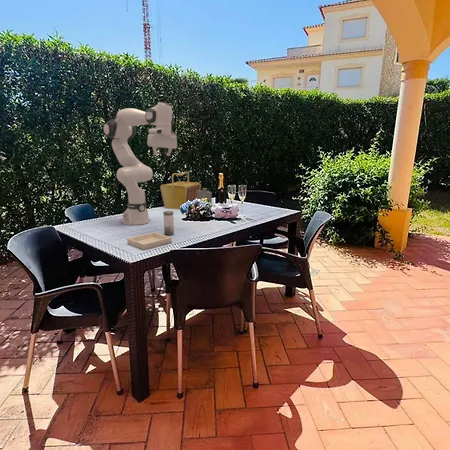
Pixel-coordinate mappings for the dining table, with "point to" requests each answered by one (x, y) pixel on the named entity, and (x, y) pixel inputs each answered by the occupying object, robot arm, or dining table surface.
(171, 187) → the picnic basket
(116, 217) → the dining table surface
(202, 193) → the hip flask
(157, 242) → the sand tray
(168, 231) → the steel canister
